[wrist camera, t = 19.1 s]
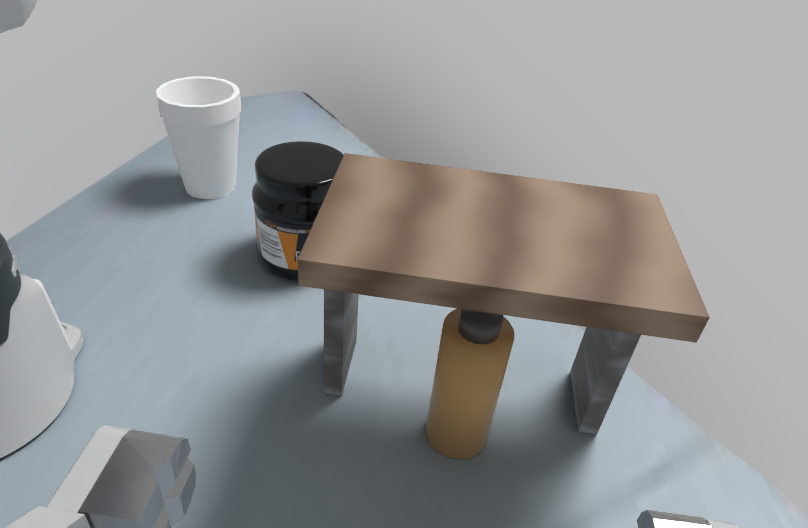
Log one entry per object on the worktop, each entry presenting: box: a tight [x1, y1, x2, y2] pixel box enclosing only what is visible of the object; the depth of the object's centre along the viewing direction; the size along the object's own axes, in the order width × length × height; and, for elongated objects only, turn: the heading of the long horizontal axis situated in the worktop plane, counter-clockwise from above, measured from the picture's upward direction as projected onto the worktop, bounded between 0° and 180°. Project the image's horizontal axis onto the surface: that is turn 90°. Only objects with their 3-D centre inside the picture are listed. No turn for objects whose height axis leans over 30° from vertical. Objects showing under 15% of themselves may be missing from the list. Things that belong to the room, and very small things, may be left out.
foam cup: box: [156, 76, 241, 199], centre depth 75 cm, size 10×9×13 cm
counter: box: [298, 153, 709, 435], centre depth 47 cm, size 24×14×20 cm, turn 83°
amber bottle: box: [426, 308, 514, 459], centre depth 47 cm, size 5×5×14 cm
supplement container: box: [252, 142, 344, 279], centre depth 65 cm, size 10×10×12 cm
